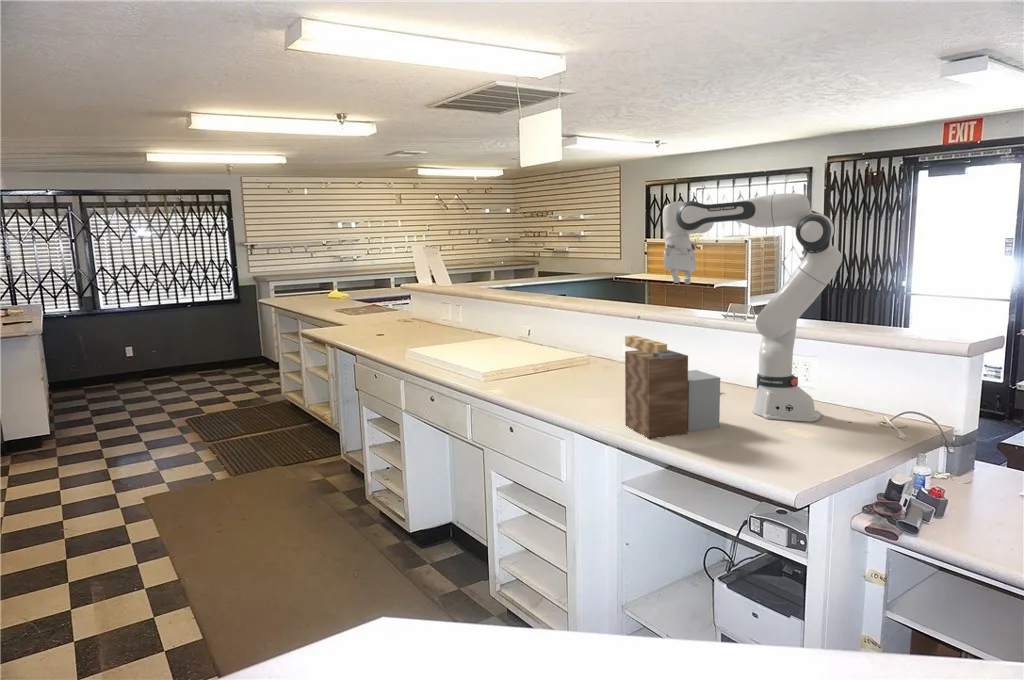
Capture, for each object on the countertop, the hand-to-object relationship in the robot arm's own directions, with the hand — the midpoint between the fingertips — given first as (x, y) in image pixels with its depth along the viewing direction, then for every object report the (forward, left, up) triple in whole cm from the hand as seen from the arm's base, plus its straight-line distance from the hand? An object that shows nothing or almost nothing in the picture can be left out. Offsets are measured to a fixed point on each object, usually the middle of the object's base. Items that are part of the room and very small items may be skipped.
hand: (682, 283), depth 244 cm
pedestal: (-2, +34, -47) cm, 58 cm away
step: (-11, +22, -46) cm, 52 cm away
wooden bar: (+1, +32, -20) cm, 38 cm away
